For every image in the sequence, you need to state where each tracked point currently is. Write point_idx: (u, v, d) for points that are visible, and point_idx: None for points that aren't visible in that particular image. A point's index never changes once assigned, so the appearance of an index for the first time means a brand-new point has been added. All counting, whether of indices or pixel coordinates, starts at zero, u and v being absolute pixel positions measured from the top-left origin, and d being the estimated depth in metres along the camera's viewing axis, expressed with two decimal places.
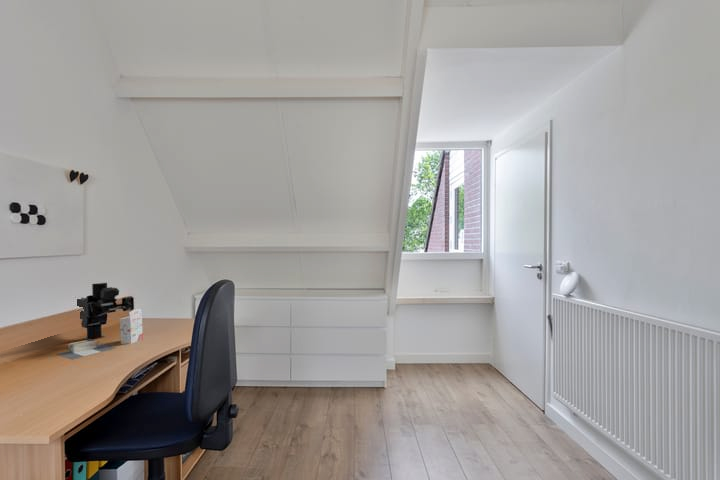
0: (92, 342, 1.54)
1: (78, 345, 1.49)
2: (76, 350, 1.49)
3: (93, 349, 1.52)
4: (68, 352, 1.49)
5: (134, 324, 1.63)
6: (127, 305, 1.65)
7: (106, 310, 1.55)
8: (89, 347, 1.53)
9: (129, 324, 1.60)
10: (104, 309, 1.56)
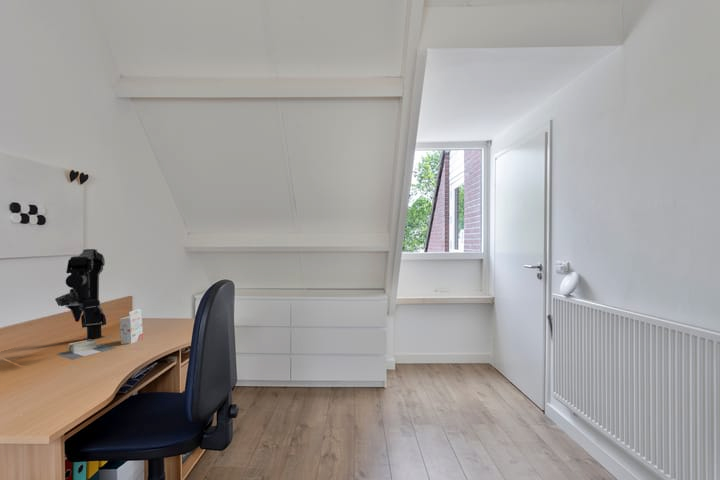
0: (92, 342, 1.54)
1: (78, 345, 1.49)
2: (76, 350, 1.49)
3: (93, 349, 1.52)
4: (68, 352, 1.49)
5: (134, 323, 1.63)
6: None
7: None
8: (89, 347, 1.53)
9: (129, 324, 1.60)
10: None
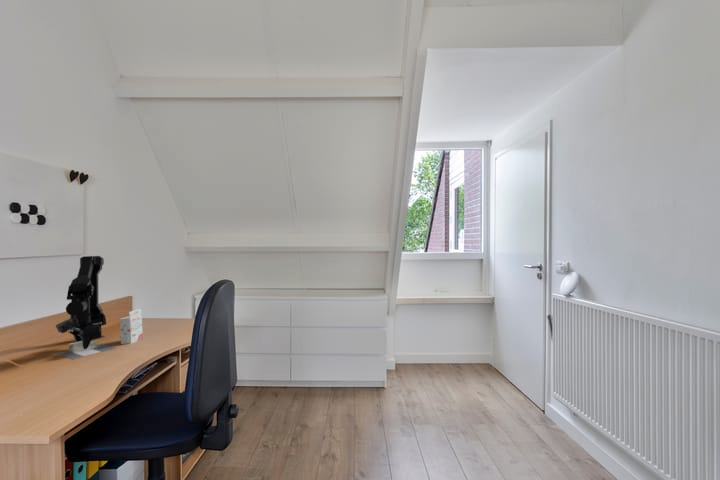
0: (92, 342, 1.54)
1: (78, 345, 1.49)
2: (76, 350, 1.49)
3: (93, 349, 1.52)
4: (68, 352, 1.49)
5: (134, 324, 1.63)
6: None
7: None
8: (89, 347, 1.53)
9: (129, 324, 1.60)
10: None
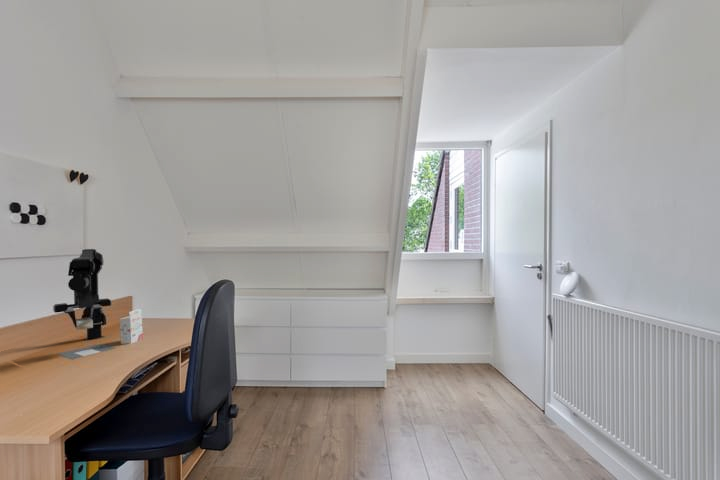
0: None
1: None
2: (92, 325, 1.50)
3: (93, 349, 1.52)
4: (68, 352, 1.49)
5: (134, 324, 1.63)
6: (91, 316, 1.53)
7: (74, 324, 1.49)
8: None
9: (129, 324, 1.60)
10: (73, 322, 1.48)
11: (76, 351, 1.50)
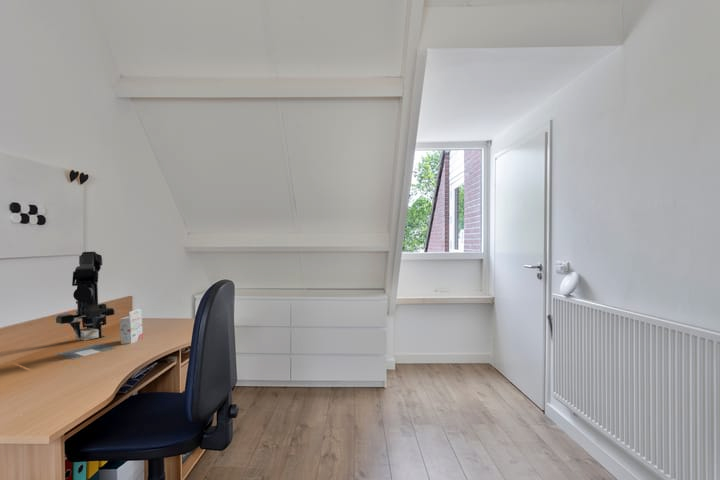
0: None
1: None
2: None
3: (93, 349, 1.52)
4: (68, 352, 1.49)
5: (134, 323, 1.63)
6: (94, 326, 1.51)
7: (77, 335, 1.46)
8: None
9: (129, 324, 1.60)
10: (77, 333, 1.45)
11: (76, 351, 1.50)
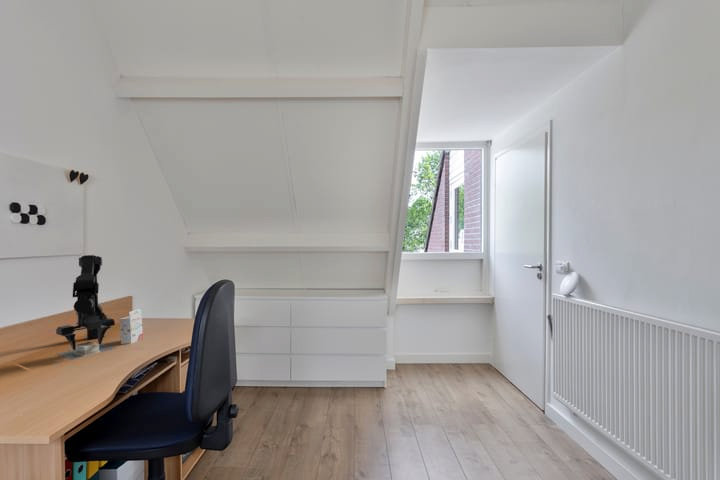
0: None
1: None
2: None
3: None
4: (68, 352, 1.49)
5: (134, 323, 1.63)
6: (99, 335, 1.52)
7: None
8: None
9: (129, 324, 1.60)
10: (72, 345, 1.44)
11: None
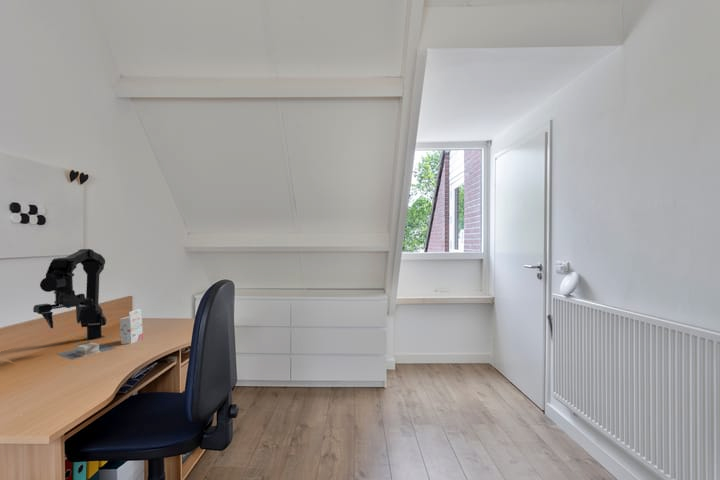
0: None
1: None
2: None
3: None
4: (68, 352, 1.49)
5: (134, 324, 1.63)
6: (78, 315, 1.54)
7: (50, 326, 1.45)
8: None
9: (129, 324, 1.60)
10: (49, 323, 1.45)
11: None
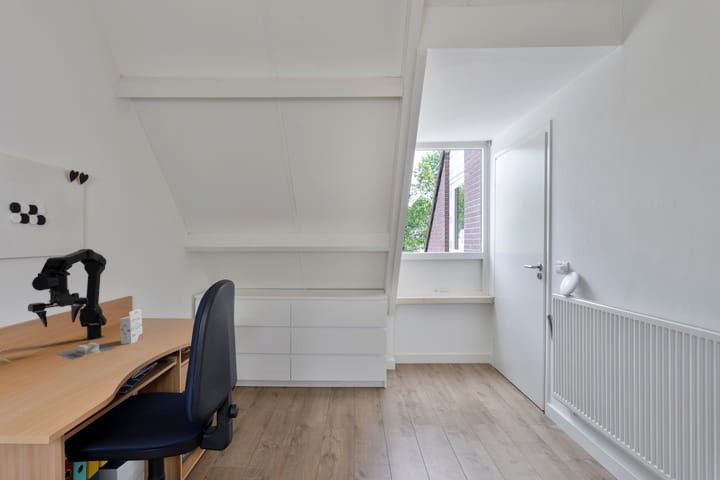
0: None
1: None
2: None
3: None
4: (68, 352, 1.49)
5: (134, 323, 1.63)
6: (73, 314, 1.54)
7: (44, 325, 1.45)
8: None
9: (129, 324, 1.60)
10: (43, 322, 1.45)
11: None
